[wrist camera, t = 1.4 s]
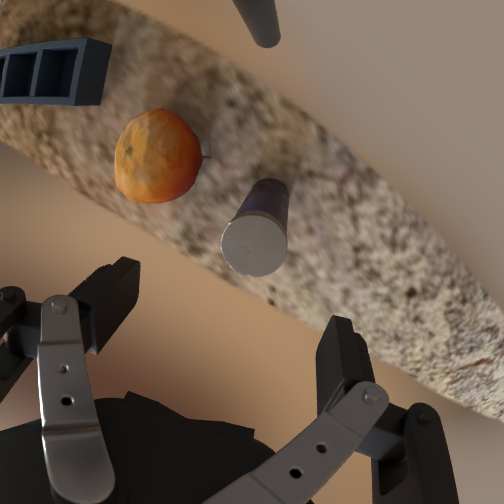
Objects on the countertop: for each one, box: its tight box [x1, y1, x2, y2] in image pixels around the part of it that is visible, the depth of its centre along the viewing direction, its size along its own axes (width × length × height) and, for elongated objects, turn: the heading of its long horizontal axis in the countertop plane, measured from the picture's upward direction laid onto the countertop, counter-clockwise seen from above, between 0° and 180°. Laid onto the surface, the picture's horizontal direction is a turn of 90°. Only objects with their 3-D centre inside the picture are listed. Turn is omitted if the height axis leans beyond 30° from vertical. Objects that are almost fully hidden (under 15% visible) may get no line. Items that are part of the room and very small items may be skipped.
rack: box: [0, 38, 112, 106], centre depth 24 cm, size 7×18×4 cm, turn 77°
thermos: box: [221, 178, 289, 277], centre depth 24 cm, size 4×4×12 cm
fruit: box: [114, 109, 210, 203], centre depth 26 cm, size 8×8×8 cm
